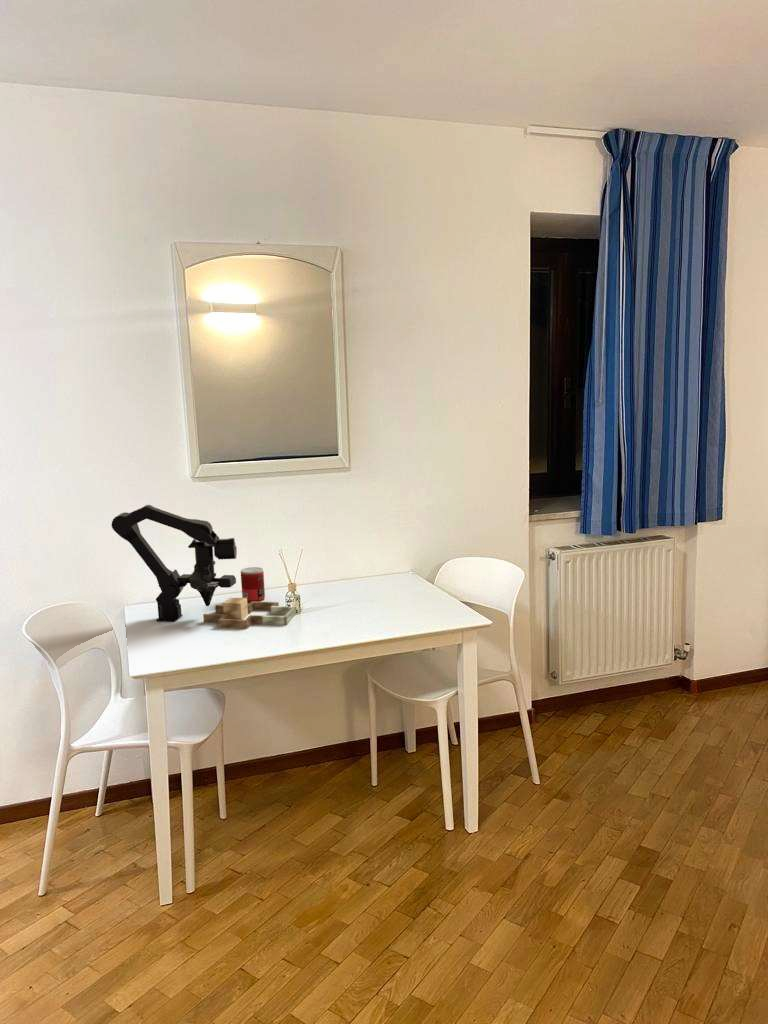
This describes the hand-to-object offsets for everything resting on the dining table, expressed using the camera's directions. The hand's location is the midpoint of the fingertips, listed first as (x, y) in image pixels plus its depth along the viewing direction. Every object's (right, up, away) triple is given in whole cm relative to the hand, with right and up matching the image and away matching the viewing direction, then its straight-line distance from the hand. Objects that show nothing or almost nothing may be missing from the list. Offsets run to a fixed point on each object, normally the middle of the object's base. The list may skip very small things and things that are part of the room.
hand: (207, 605), depth 251 cm
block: (+10, -4, -1) cm, 10 cm away
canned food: (+12, 0, +19) cm, 22 cm away
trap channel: (+15, -4, -2) cm, 15 cm away
